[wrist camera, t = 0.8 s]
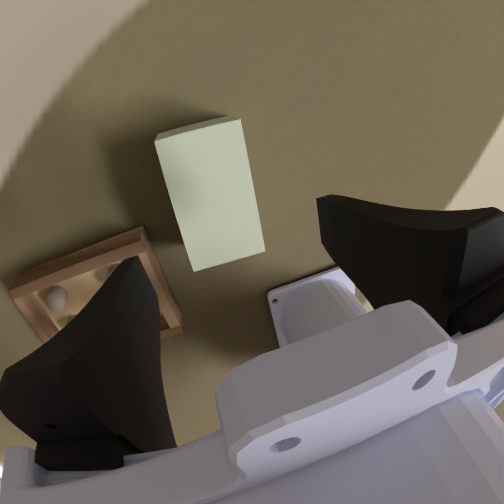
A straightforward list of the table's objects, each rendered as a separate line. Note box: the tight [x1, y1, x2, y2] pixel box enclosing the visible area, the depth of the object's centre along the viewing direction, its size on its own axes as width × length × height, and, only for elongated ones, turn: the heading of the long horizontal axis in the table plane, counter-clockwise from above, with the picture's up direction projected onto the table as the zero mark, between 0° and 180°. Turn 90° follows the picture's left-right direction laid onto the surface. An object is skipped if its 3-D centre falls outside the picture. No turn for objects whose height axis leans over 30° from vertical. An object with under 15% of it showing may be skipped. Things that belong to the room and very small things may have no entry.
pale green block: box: [154, 116, 265, 272], centre depth 18 cm, size 4×8×4 cm, turn 10°
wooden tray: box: [8, 225, 184, 343], centre depth 20 cm, size 8×12×2 cm
